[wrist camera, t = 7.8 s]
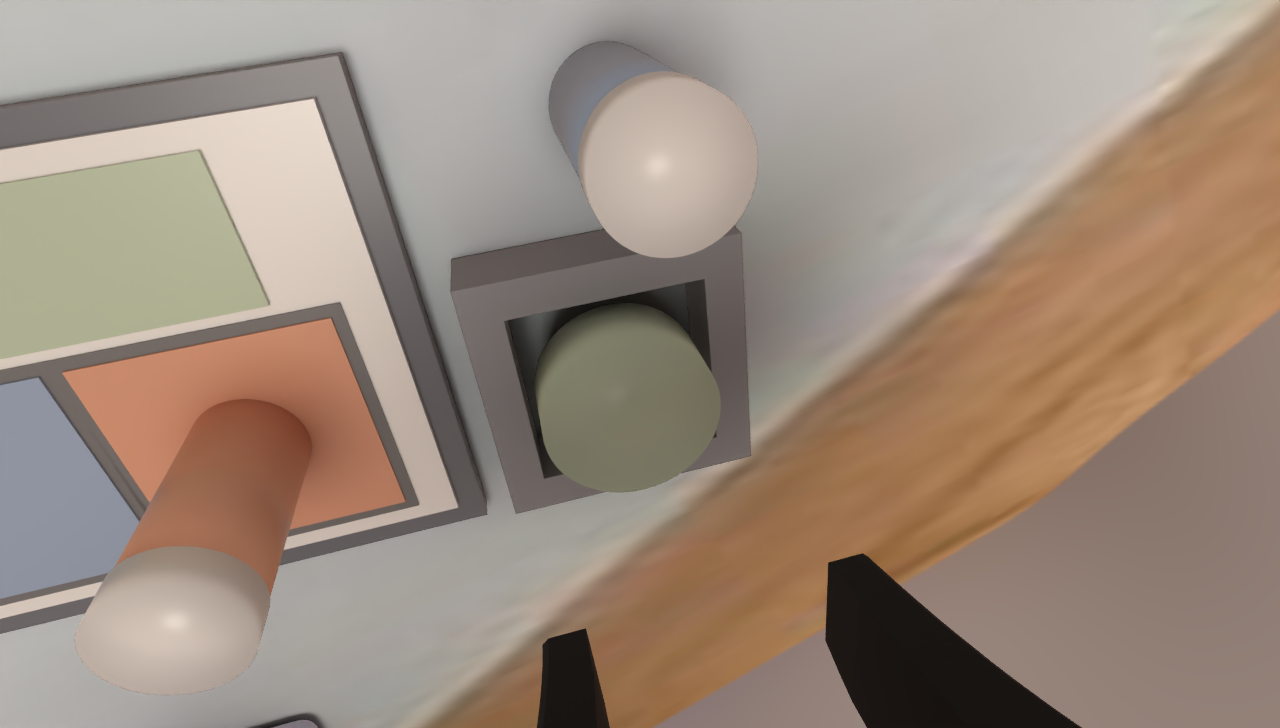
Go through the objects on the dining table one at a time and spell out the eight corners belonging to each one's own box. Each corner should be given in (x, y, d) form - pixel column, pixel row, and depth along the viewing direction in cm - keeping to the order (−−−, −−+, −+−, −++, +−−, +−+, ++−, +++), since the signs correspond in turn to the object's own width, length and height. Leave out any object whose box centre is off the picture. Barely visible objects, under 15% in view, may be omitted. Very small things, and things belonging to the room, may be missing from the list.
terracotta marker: (332, 471, 19) (285, 666, 14) (222, 501, 18) (132, 712, 13) (284, 384, 17) (211, 567, 12) (163, 415, 17) (36, 617, 12)
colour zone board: (486, 501, 22) (487, 522, 21) (-77, 638, 20) (-100, 667, 19) (342, 53, 15) (335, 58, 14) (-552, 192, 13) (-620, 207, 12)
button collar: (728, 417, 22) (751, 455, 20) (511, 469, 21) (515, 513, 19) (715, 207, 18) (741, 232, 17) (451, 259, 17) (450, 291, 16)
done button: (702, 425, 20) (725, 469, 18) (551, 461, 19) (560, 510, 18) (690, 287, 17) (715, 322, 16) (518, 323, 17) (524, 364, 15)
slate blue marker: (672, 156, 17) (760, 240, 12) (558, 177, 17) (601, 273, 12) (660, 29, 16) (755, 65, 11) (535, 49, 16) (572, 97, 10)
